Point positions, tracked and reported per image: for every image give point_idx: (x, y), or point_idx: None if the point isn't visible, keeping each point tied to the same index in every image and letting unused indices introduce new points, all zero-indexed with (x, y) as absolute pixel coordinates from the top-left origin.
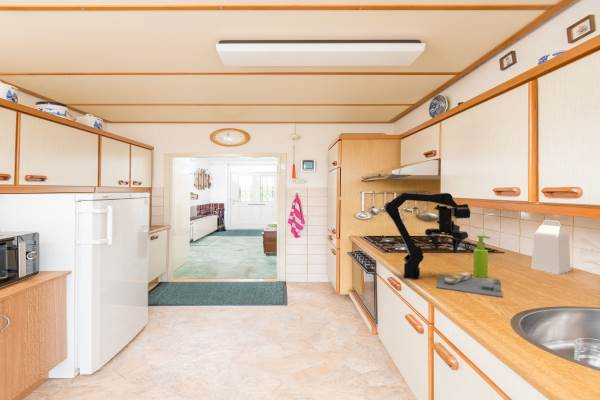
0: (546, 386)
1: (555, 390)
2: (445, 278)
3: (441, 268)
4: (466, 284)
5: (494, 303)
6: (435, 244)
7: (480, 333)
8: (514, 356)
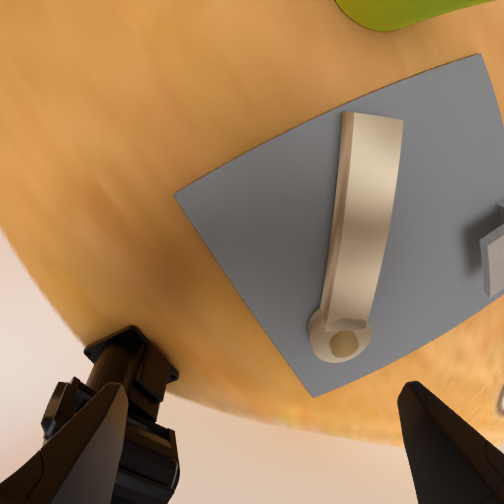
0: None
1: None
2: (326, 361)
3: (76, 33)
4: (404, 268)
5: (491, 346)
6: (112, 482)
7: None
8: None
